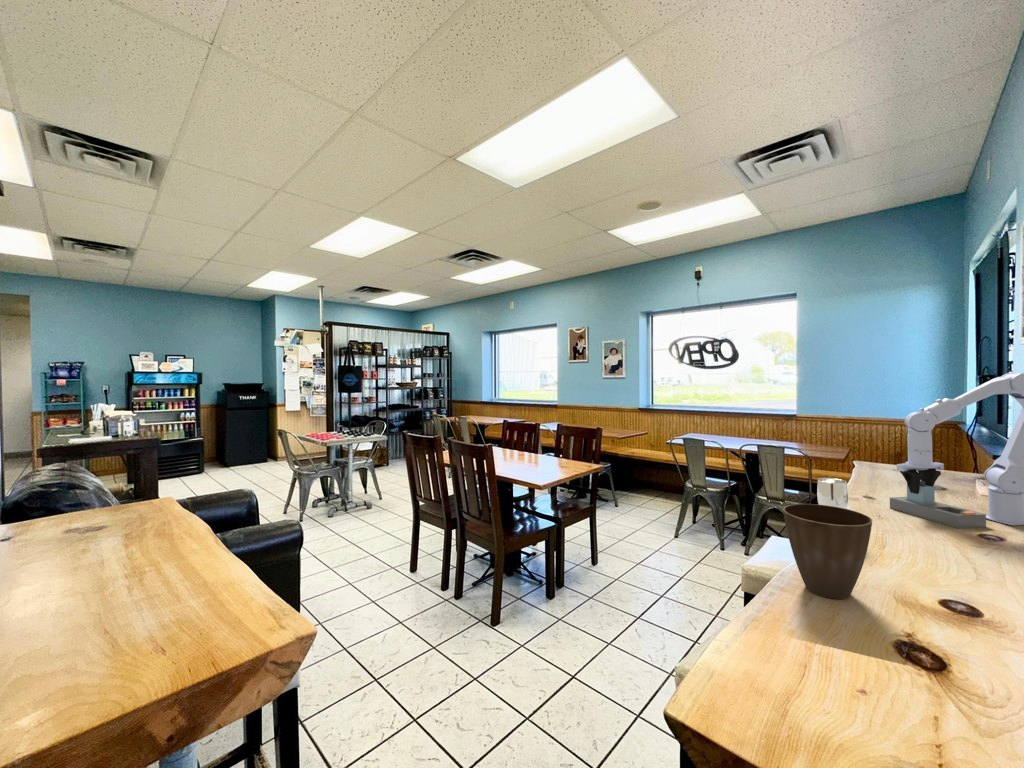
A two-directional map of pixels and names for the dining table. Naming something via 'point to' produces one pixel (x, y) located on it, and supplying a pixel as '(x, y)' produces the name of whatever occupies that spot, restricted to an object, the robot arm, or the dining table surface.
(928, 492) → the plug
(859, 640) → the dining table surface
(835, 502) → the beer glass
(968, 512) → the grey slotted tray
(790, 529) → the plant pot
